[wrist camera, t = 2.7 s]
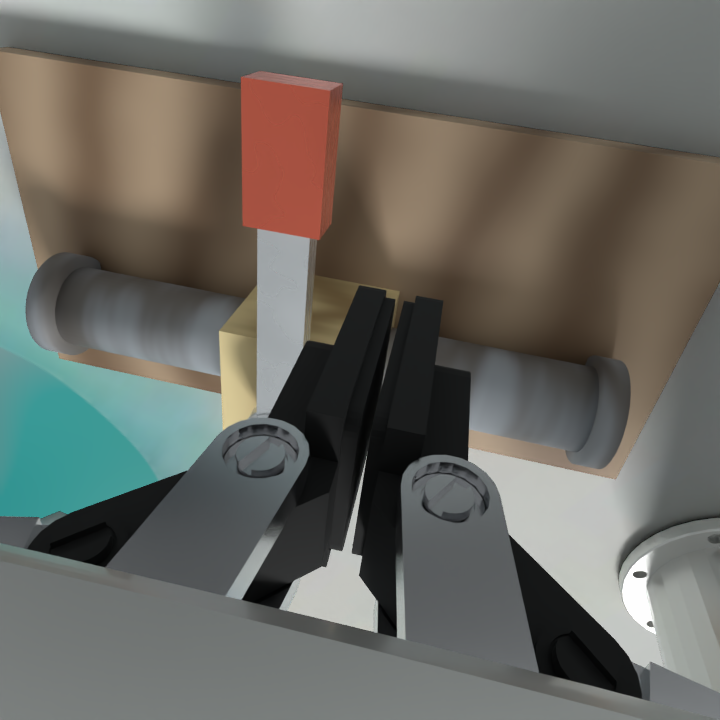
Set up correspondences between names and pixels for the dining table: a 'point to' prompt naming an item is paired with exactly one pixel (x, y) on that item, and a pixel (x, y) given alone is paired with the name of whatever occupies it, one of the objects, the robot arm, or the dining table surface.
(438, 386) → the robot arm
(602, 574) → the dining table surface
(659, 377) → the pipe board
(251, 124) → the valve lever
